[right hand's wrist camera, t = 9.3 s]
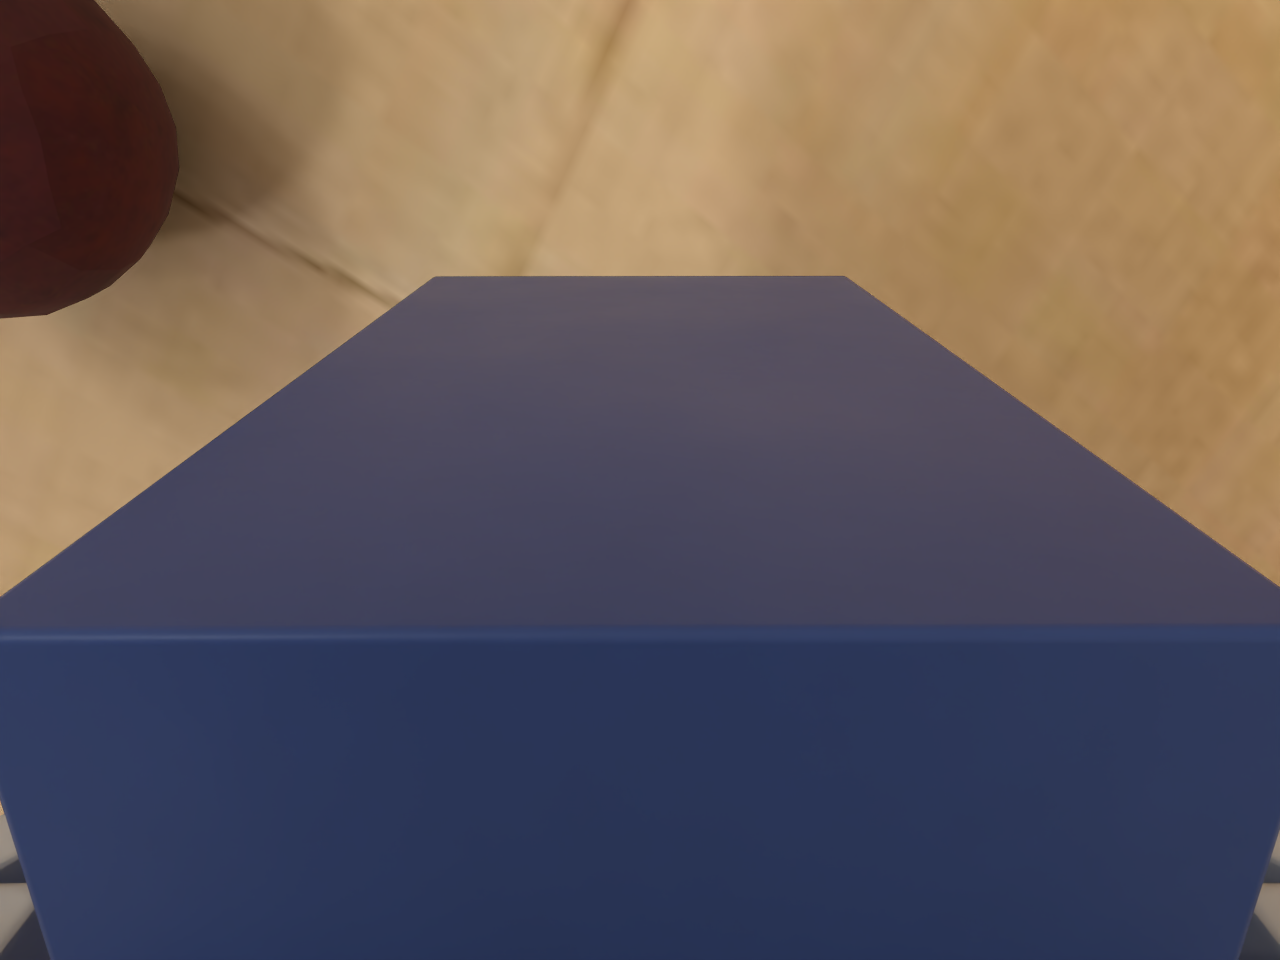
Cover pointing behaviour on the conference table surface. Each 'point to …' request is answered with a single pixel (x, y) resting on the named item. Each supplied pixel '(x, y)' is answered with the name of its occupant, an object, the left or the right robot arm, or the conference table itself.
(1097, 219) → the conference table surface
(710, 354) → the box
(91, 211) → the dark red ball
